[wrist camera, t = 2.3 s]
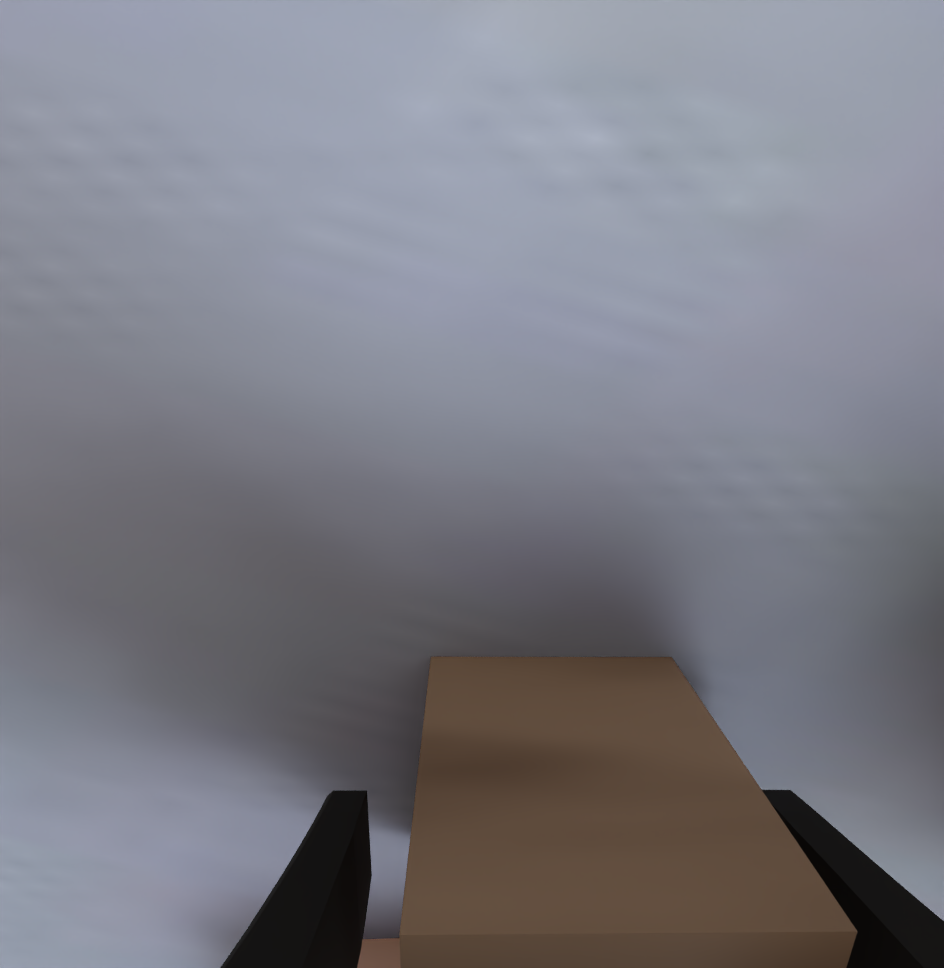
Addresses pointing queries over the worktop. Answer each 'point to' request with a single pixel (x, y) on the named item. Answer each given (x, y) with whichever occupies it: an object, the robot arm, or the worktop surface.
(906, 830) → the worktop surface
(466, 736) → the walnut cube
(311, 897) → the robot arm
